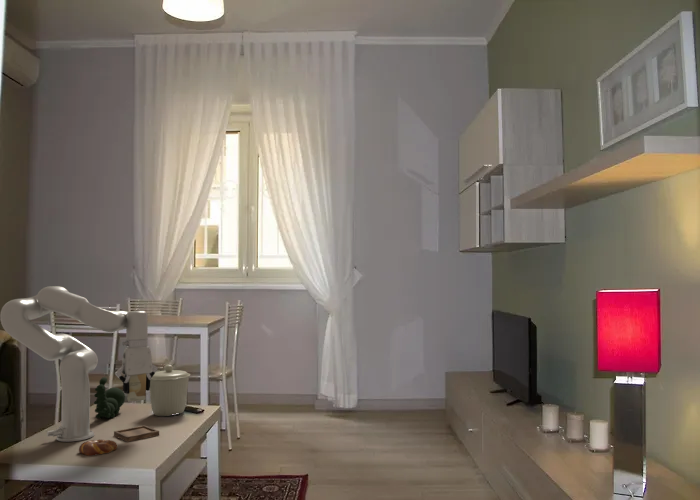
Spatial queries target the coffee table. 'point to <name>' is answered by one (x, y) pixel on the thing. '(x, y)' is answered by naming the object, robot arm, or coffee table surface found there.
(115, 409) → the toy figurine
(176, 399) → the canister
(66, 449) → the coffee table surface
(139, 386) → the skincare box
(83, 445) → the pretzel
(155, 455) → the coffee table surface
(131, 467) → the coffee table surface
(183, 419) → the coffee table surface
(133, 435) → the wooden tray
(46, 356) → the robot arm
